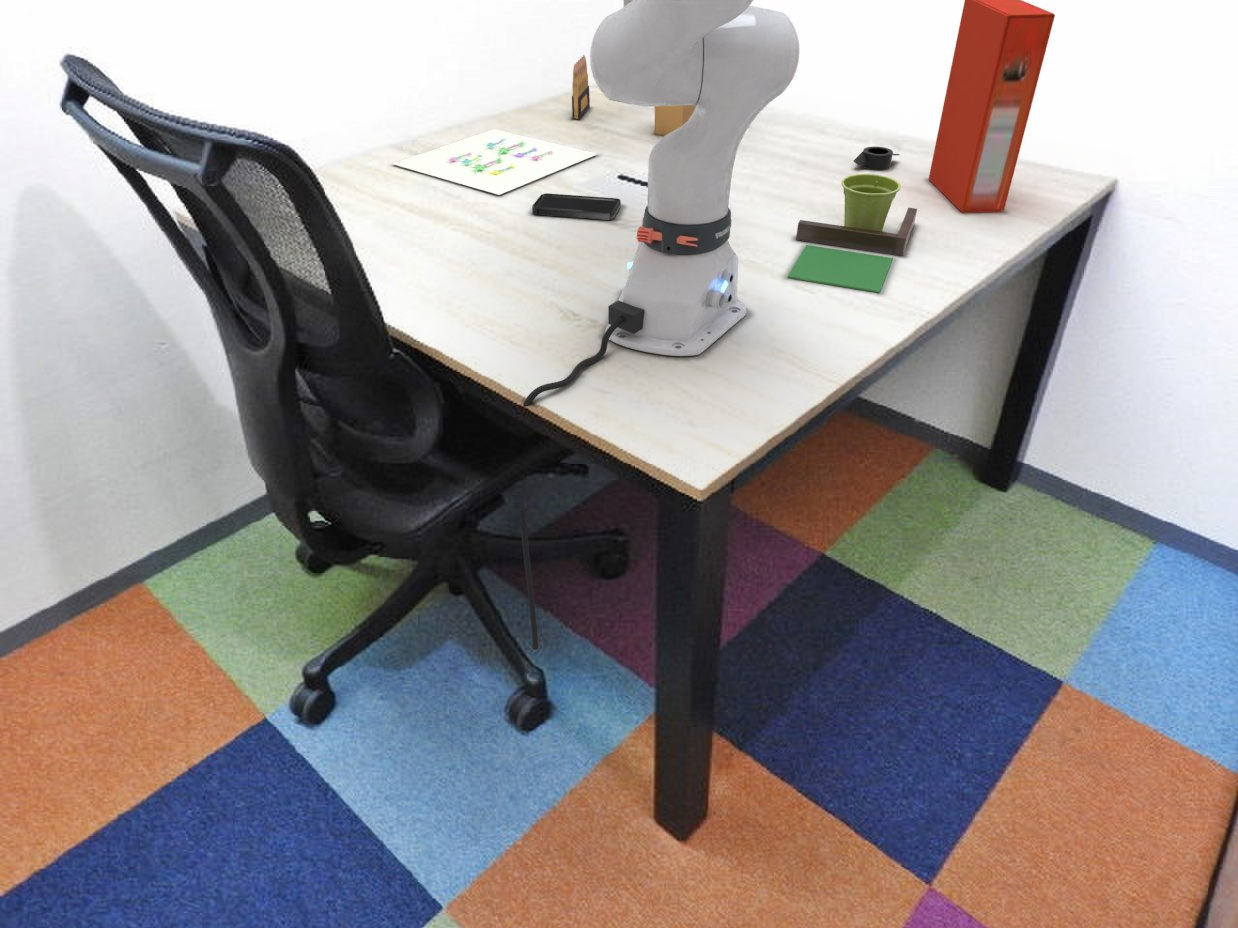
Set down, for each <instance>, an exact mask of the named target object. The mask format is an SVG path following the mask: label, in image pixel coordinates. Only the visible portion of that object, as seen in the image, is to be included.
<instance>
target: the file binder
mask: <svg viewBox="0 0 1238 928" xmlns="http://www.w3.org/2000/svg"><path fill="white" fill-rule="evenodd" d="M1055 17H1056V14H1055V13H1053V12H1051V11H1048V10H1046V9H1044V8H1042V7H1039V6H1037V5H1034V4H1032V3H1030V2H1027V1H1025V0H964V2H963V7H962V12H961V17H960V22H959V25H958V26H959V27H958V32H957V36H956V40H955V41H956V42H955V45H954V51H953V55H952V56H953V57H952V62H951V66H950V71H949V76H948V81H947V86H946V90H945V96H944V100H943V106H942V111H941V115H940V120H939V126H938V130H937V136H936V140H935V145H934V149H933V155H932V159H931V165H930V168H929V169H930V170H929V175H928V181H930V183H932V185H933V186H934V187H936V189H937V190H938V191H939V192H940V193H941V194H943V196H945V198H947V200H949V202H951V203H952V204H953V206H954V207H956V209H957V210H958V211H959V212H960V213H961V214H972V213H973V214H975V213H1001V212H1002V211H1005V209H1006V204H1007V201H1008V197H1009V193H1010V189H1011V185H1012V181H1013V178H1014V173H1015V171H1016V165H1017V162H1018V158H1019V155H1020V151H1021V148H1022V143H1023V139H1024V136H1025V133H1026V132H1025V131H1026V128H1027V123H1028V120H1029V116H1030V112H1031V108H1032V105H1033V101H1034V97H1035V94H1036V89H1037V86H1038V83H1039V82H1038V81H1039V79H1040V74H1041V70H1042V66H1043V62H1044V59H1045V55H1046V51H1047V47H1048V45H1049V44H1048V43H1049V40H1050V36H1051V32H1052V28H1053V25H1054V21H1055Z"/></svg>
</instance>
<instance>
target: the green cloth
mask: <svg viewBox="0 0 1238 928" xmlns="http://www.w3.org/2000/svg"><path fill="white" fill-rule="evenodd" d="M892 262H893V257H889V256H882V255H876V254H871V253H870V254H869V253H863V252H855V251H850V250H849V251H848V250H844V249H843V250H842V249H837V248H829V247H823V246H817V245H809V244H805V246H804V248H803V250H802V251H801V253H800V254H799V256H798V258H797V260H796V261H795V263H794V264H793V267H792V268H791V270H790V271H789V273H788V275H787V279H792V280H799V281H804V282H809V283H817V284H822V285H827V286H835V287H841V288H846V289H853V290H859V291H865V292H871V293H877V294H880V293H881V290H882V287H883V286H884V282H885V279H886V278H887V275H888V272H889V270H890V267H891V265H892Z"/></svg>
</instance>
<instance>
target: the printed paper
mask: <svg viewBox="0 0 1238 928" xmlns="http://www.w3.org/2000/svg"><path fill="white" fill-rule="evenodd" d="M597 155H598V153H597V152H592V151H587V150H584V149H580V148H576V147H571V146H567V145H563V144H558V143H555V142H550V141H547V140H543V139H538V138H534V137H530V136H526V135H522V134H517V133H513V132H508V131H506V130H505V131H504V130H500V129H495V128H492V129H489V130H487V131H486V130H485V131H484V132H481V133H477V134H475V135H472V136H469V137H466V138H463V139H460V140H457V141H454V142H451V143H449V144H446V145H442V146H440V147H437V148H434V149H430V150H428V151H424V152H422V153H419V154H416V155H414V156H410V157H407V158H405V159H402V160H398V161H395V162H393V163H392V165H394V166H398V167H400V168H404V169H408V170H412V171H415V172H419V173H422V174H425V175H428V176H432V177H434V178H435V177H437V178H439V179H443V180H446V181H449V182H452V183H455V184H459V185H464V186H467V187H470V188H474V189H477V190H481V191H484V192H488V193H491V194H493V195H494V194H495V195H498V196H501V195H503V194H505V193H507V192H511V191H513V190H514V189H518V188H519V187H522V186H525V185H526V184H529V183H532V182H534V181H537V180H539V179H542V178H544V177H546V176H549V175H551V174H554V173H556V172H558V171H561V170H563V169H565V168H568V167H570V166H572V165H576V164H578V163H580V162H582V161H583V162H584V160H588V159H589V158H593V157H594V156H597Z"/></svg>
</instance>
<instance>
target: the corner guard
mask: <svg viewBox="0 0 1238 928" xmlns="http://www.w3.org/2000/svg"><path fill="white" fill-rule="evenodd" d="M917 212H918V208H915V207H908V208H907V210H906V213H905V215H904V217H903V220H902V223H901V226H900V227H899V230H898V233H894V232H887V231H882V232H881V231H874V230H867V229H860V228H853V227H846V226H844V225H838V224H832V223H824V222H817V221H812V220H811V221H810V220H805V219H800V220H799V221H798V222H797V228H796V229H797V230H796V237H795V240H796V241H800V242H801V241H802V242H807V243H815V244H821V245H828V246H833V247H841V248H848V249H853V250H854V249H855V250H861V251H866V252H872V253H873V252H875V253H880V254H886V255H895V256H900V257H903V256H904V253H905V250H906V247H907V244H908V242H909V240H910V238H911V234H912V231H913V229H914V226H915V221H916V217H917Z"/></svg>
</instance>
